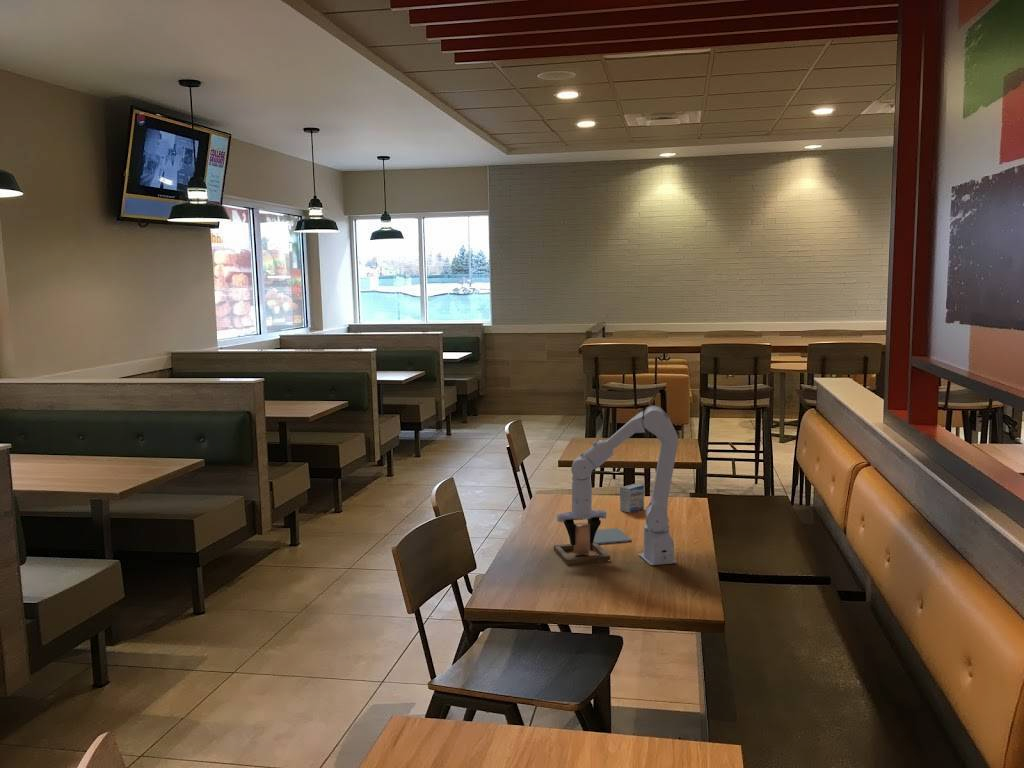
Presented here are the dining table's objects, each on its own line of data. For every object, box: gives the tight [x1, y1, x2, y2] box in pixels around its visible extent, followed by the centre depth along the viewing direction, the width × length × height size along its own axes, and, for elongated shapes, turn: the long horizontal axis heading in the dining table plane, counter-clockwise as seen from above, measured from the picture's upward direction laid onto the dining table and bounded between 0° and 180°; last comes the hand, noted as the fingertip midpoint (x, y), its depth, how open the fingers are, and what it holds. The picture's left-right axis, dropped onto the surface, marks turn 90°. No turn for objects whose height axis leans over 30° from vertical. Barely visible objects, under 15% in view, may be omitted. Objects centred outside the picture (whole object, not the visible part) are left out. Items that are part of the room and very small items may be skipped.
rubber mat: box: [593, 527, 633, 545], centre depth 256 cm, size 12×12×1 cm
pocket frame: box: [553, 542, 611, 566], centre depth 239 cm, size 13×13×2 cm
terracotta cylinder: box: [572, 522, 591, 556], centre depth 238 cm, size 5×5×8 cm
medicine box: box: [619, 483, 645, 514], centre depth 285 cm, size 8×4×9 cm, turn 131°
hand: (581, 543), depth 239 cm, fingers closed on terracotta cylinder, 5 cm apart
